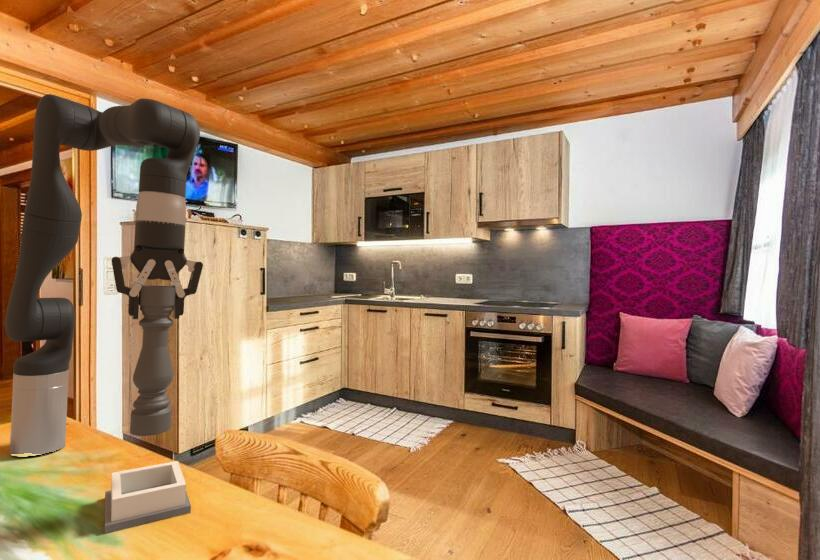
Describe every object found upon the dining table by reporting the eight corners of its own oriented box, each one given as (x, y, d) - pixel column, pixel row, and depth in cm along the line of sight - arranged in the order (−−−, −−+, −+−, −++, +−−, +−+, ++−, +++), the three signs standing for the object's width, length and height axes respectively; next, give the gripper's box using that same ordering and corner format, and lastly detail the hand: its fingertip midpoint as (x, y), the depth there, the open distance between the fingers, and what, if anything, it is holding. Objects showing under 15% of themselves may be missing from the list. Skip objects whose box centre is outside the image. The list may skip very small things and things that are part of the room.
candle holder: (121, 430, 74) (129, 285, 73) (157, 420, 79) (164, 285, 79) (143, 438, 71) (151, 287, 70) (178, 428, 76) (186, 287, 76)
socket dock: (105, 498, 76) (106, 472, 76) (180, 482, 83) (181, 458, 83) (104, 533, 67) (106, 503, 67) (190, 512, 74) (192, 485, 73)
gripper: (202, 227, 82) (197, 315, 82) (110, 217, 73) (105, 316, 74) (210, 225, 75) (205, 320, 76) (110, 214, 67) (105, 322, 67)
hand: (156, 318), depth 75 cm, fingers closed on candle holder, 5 cm apart
